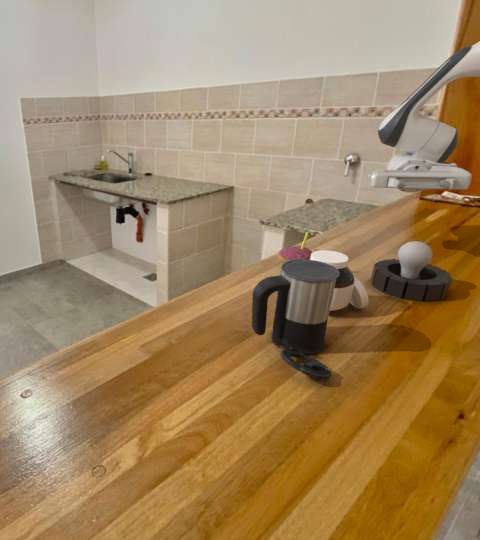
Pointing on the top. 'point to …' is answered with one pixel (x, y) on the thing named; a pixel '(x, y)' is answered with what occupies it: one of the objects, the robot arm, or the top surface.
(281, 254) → the cupcake
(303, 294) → the milk frother
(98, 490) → the top surface
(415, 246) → the lightbulb
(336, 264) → the spread jar
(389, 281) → the tire
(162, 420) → the top surface
